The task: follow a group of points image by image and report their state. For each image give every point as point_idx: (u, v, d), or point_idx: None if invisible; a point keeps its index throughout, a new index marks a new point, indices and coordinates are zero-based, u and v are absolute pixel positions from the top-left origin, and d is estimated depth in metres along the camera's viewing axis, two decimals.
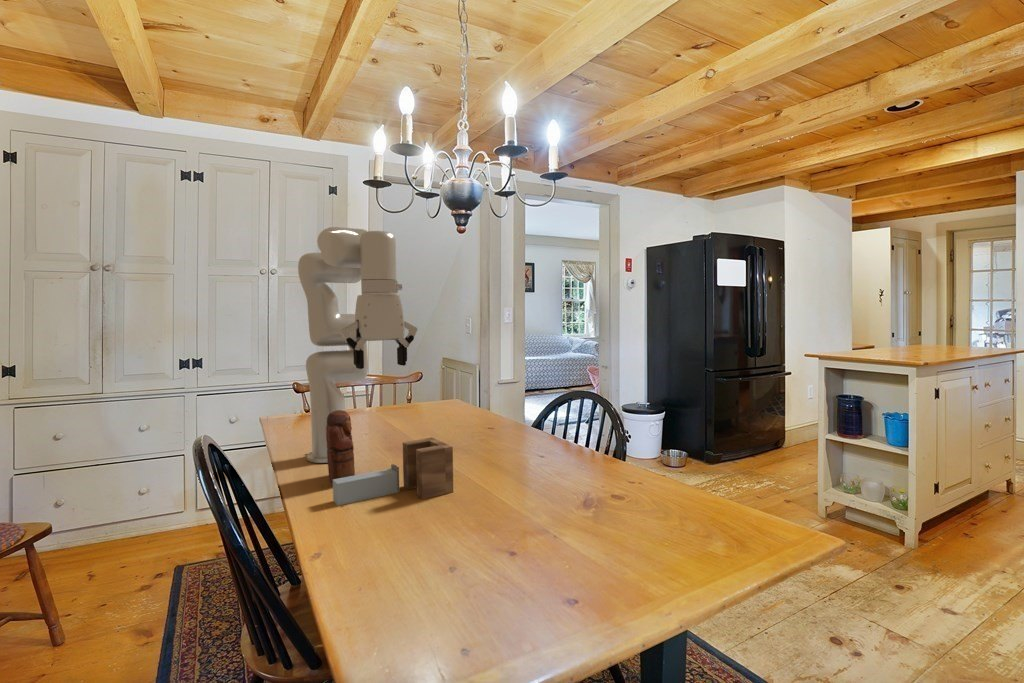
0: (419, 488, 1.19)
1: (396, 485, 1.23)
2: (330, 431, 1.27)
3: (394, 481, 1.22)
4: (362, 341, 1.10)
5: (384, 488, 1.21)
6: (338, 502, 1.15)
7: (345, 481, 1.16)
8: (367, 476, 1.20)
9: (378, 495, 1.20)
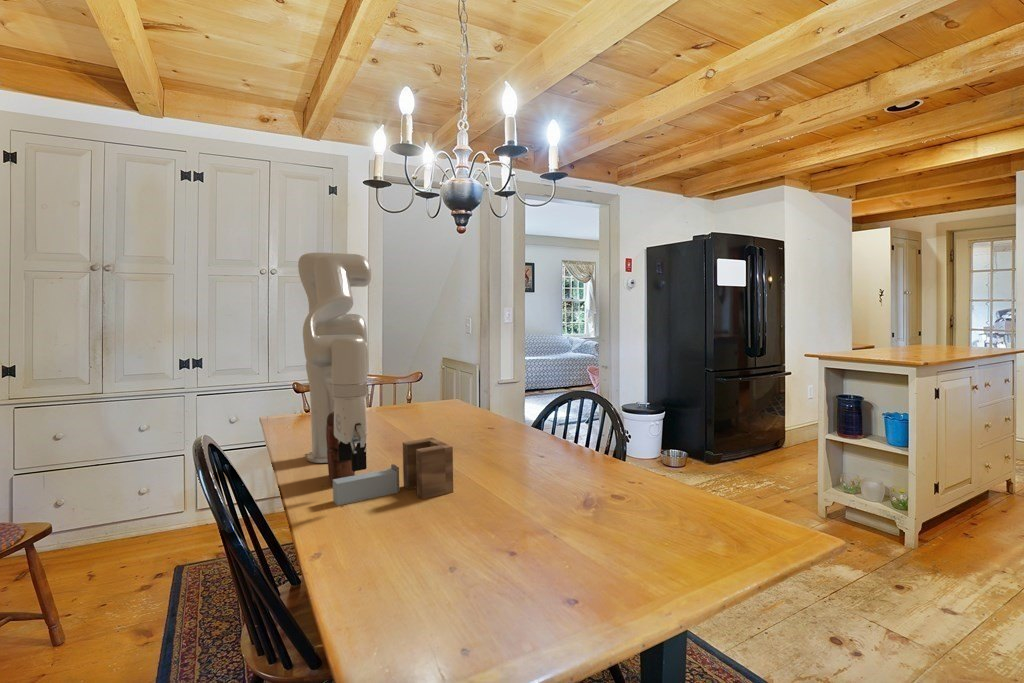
0: (419, 488, 1.19)
1: (396, 485, 1.23)
2: (330, 431, 1.27)
3: (394, 481, 1.22)
4: None
5: (384, 488, 1.21)
6: (338, 502, 1.15)
7: (345, 481, 1.16)
8: (367, 476, 1.20)
9: (378, 495, 1.20)
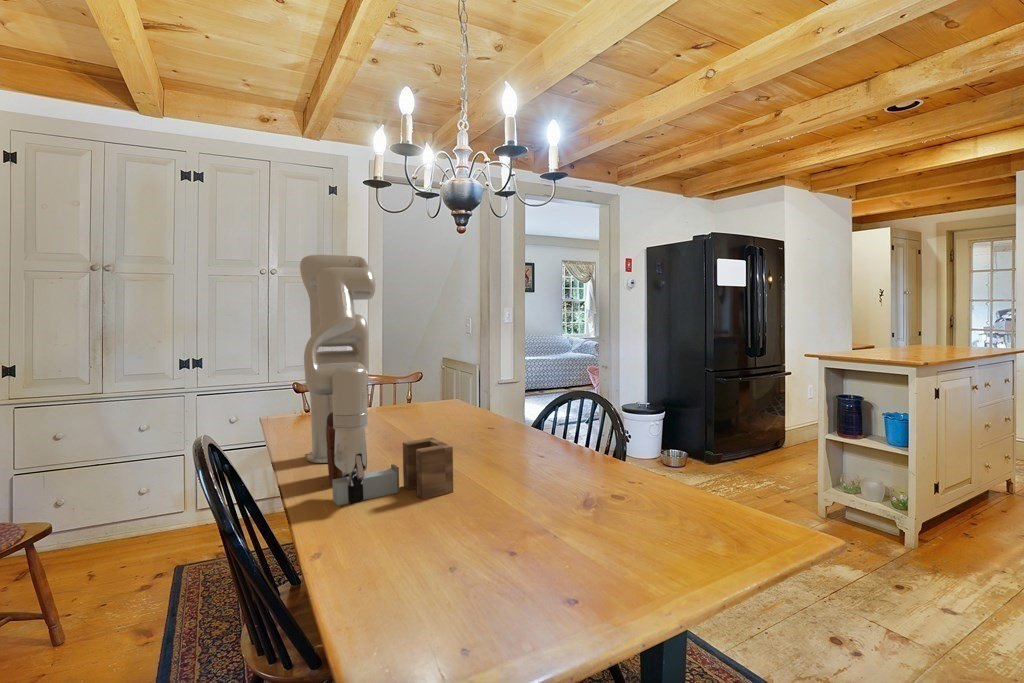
0: (419, 488, 1.19)
1: (396, 485, 1.23)
2: (330, 431, 1.27)
3: (394, 481, 1.22)
4: None
5: (384, 488, 1.21)
6: (338, 502, 1.15)
7: (345, 481, 1.16)
8: (367, 476, 1.20)
9: (378, 495, 1.20)
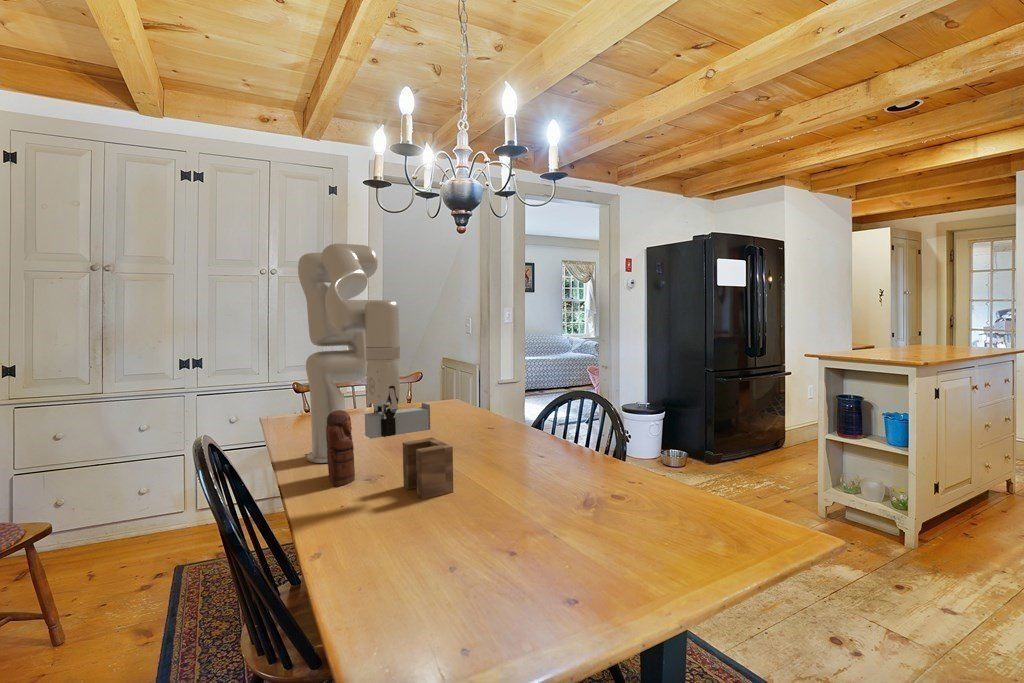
0: (419, 488, 1.19)
1: (427, 422, 1.22)
2: (330, 431, 1.27)
3: (425, 418, 1.22)
4: None
5: (415, 424, 1.21)
6: (371, 435, 1.15)
7: (377, 415, 1.16)
8: (399, 411, 1.19)
9: (410, 431, 1.20)
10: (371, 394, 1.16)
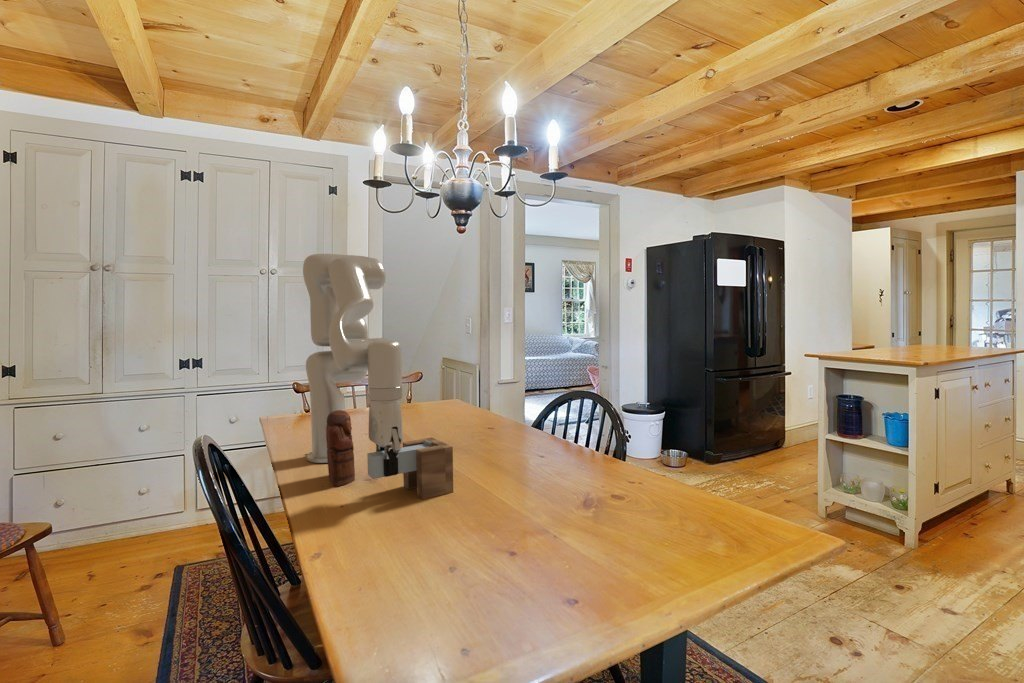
0: (419, 488, 1.19)
1: None
2: (330, 431, 1.27)
3: None
4: None
5: None
6: (373, 475, 1.15)
7: (380, 454, 1.17)
8: (401, 450, 1.20)
9: (412, 469, 1.20)
10: (374, 434, 1.17)
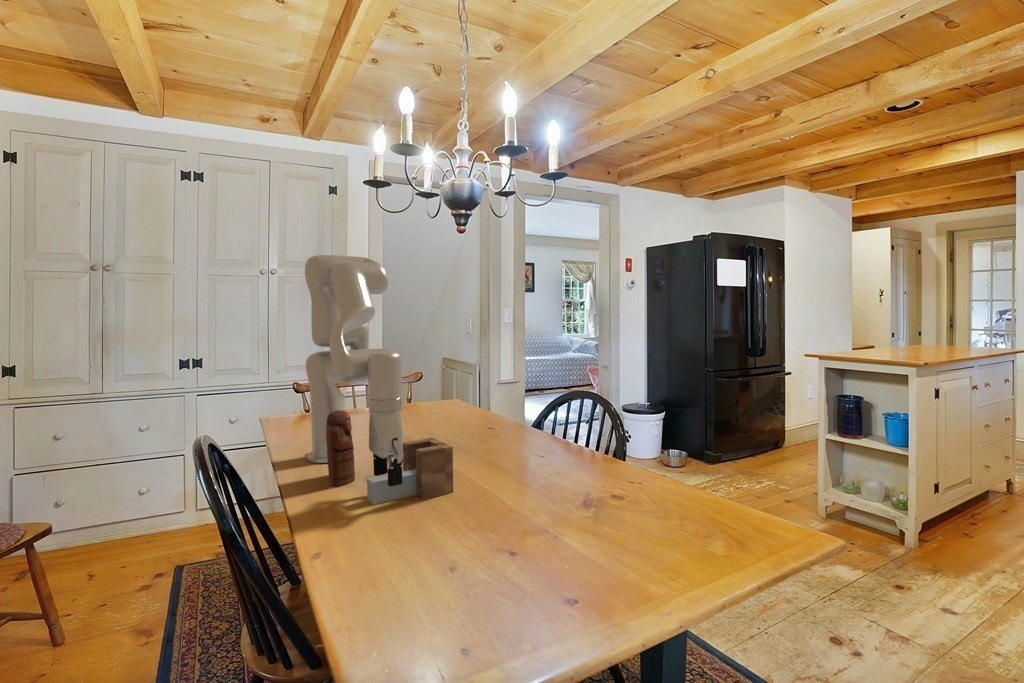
0: (419, 488, 1.19)
1: None
2: (330, 431, 1.27)
3: None
4: None
5: None
6: (373, 501, 1.16)
7: (380, 480, 1.17)
8: None
9: (411, 494, 1.21)
10: (374, 445, 1.17)
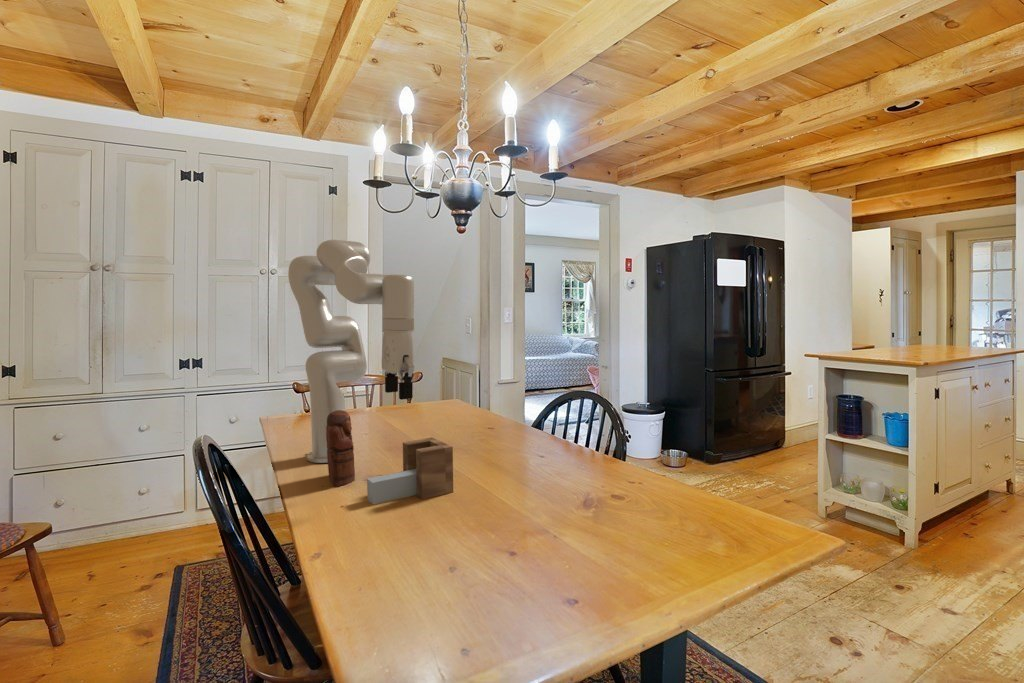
0: (419, 488, 1.19)
1: None
2: (330, 431, 1.27)
3: None
4: None
5: None
6: (373, 501, 1.16)
7: (380, 480, 1.17)
8: (401, 475, 1.20)
9: (411, 494, 1.21)
10: (386, 362, 1.24)
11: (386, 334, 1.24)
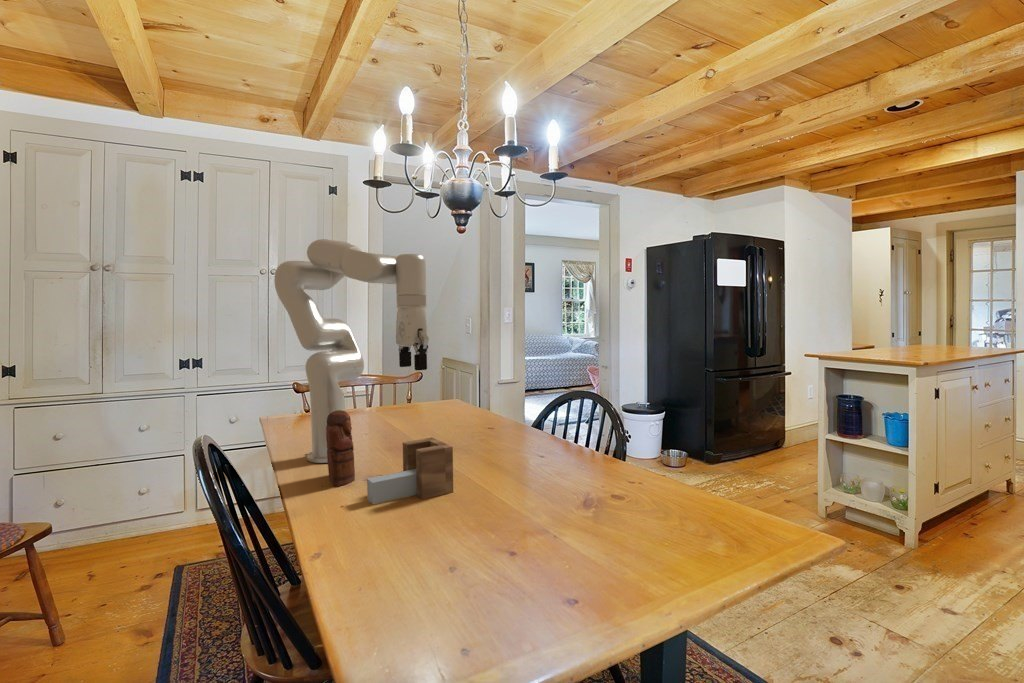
0: (419, 488, 1.19)
1: None
2: (330, 431, 1.27)
3: None
4: None
5: None
6: (373, 501, 1.16)
7: (380, 480, 1.17)
8: (401, 475, 1.20)
9: (411, 494, 1.21)
10: (401, 337, 1.32)
11: (400, 310, 1.32)
